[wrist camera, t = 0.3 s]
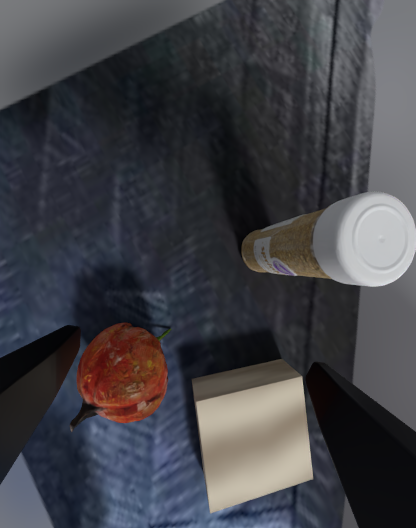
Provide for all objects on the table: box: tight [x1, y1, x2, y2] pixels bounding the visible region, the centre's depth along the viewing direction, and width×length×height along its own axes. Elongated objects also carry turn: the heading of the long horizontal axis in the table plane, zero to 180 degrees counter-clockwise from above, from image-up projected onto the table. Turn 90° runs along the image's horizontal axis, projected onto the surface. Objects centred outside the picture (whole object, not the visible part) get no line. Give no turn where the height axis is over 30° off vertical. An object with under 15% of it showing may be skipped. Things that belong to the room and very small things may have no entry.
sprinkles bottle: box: [241, 192, 416, 287], centre depth 17 cm, size 5×5×14 cm
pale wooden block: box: [192, 359, 313, 513], centre depth 22 cm, size 10×10×4 cm
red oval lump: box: [70, 322, 171, 432], centre depth 18 cm, size 7×7×10 cm
